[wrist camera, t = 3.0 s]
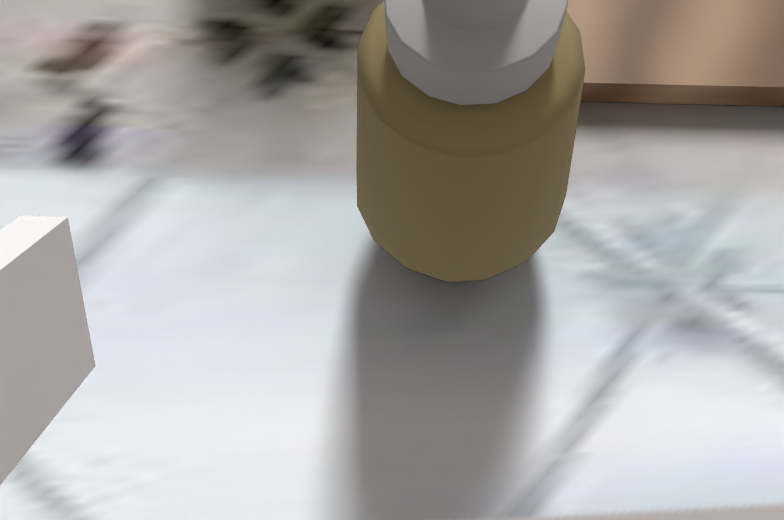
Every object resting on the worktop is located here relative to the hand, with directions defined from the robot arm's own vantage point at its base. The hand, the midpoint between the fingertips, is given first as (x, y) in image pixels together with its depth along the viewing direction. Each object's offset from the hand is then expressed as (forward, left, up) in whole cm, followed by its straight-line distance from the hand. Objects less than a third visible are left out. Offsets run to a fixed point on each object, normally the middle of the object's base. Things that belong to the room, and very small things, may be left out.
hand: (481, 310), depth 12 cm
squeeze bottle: (0, +9, -19) cm, 21 cm away
